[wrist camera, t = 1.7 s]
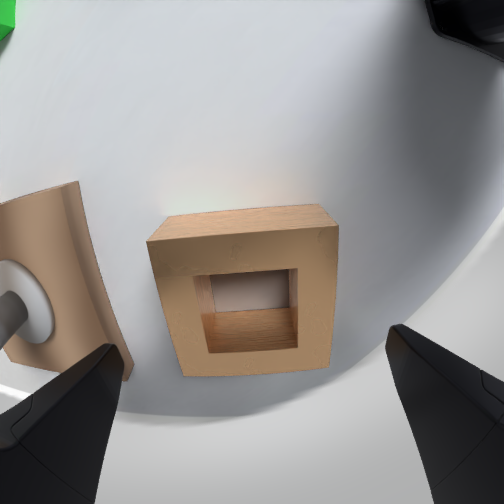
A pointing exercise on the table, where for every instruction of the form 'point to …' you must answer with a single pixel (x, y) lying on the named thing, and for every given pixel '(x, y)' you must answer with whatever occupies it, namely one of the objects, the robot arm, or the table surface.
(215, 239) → the wooden collar
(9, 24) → the mechanical part
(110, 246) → the table surface
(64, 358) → the post stand
